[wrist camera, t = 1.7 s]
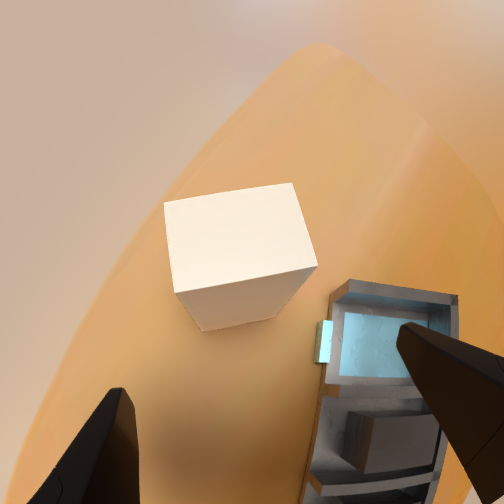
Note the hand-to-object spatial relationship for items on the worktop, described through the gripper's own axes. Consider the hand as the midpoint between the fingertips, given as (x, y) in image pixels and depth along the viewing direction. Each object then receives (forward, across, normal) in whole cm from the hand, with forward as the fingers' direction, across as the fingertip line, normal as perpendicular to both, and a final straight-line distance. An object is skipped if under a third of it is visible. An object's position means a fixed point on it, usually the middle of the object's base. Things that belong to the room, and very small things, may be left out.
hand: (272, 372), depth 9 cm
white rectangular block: (+12, 0, +5) cm, 13 cm away
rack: (+3, -8, +13) cm, 15 cm away
